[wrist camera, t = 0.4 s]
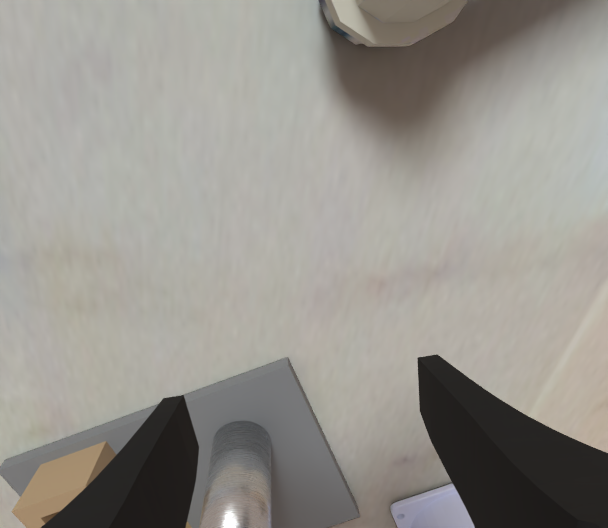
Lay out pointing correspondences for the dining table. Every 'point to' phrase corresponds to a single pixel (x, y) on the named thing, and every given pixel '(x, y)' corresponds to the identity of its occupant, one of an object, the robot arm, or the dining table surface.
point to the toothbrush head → (389, 19)
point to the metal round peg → (238, 478)
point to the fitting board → (204, 453)
